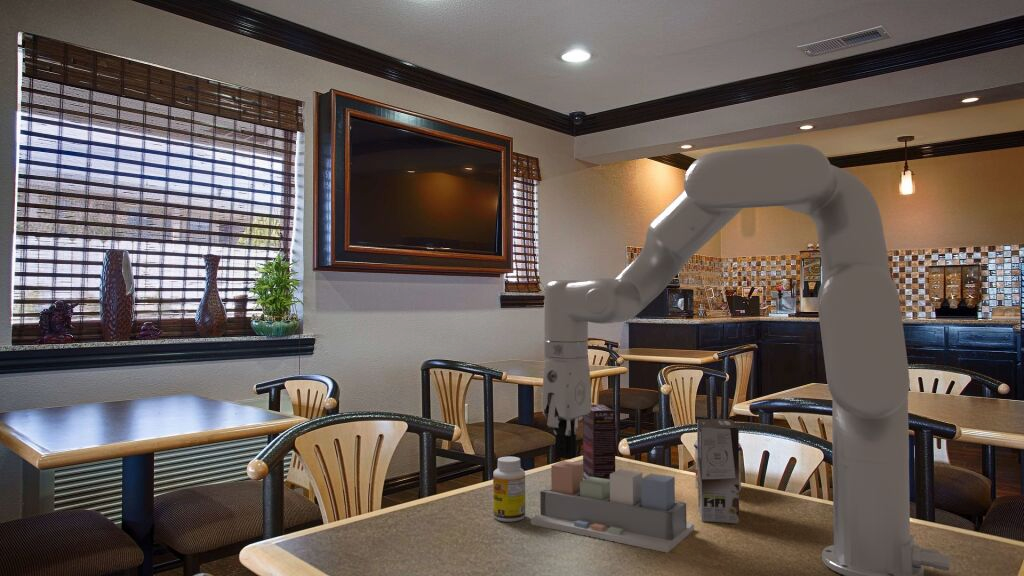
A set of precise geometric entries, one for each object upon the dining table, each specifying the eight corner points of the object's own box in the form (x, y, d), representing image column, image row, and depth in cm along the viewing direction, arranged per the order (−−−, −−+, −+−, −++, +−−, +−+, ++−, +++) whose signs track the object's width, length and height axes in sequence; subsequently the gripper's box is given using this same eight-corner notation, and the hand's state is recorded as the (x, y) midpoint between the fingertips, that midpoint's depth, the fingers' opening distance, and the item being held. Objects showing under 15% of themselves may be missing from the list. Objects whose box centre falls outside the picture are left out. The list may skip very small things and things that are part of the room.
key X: (642, 502, 112) (642, 472, 112) (632, 508, 109) (632, 477, 109) (620, 498, 114) (619, 468, 114) (610, 504, 111) (609, 474, 111)
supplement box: (617, 490, 134) (616, 410, 135) (593, 491, 134) (592, 411, 134) (604, 479, 143) (603, 403, 143) (582, 480, 142) (581, 404, 143)
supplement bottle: (489, 514, 120) (489, 456, 120) (519, 511, 121) (519, 454, 122) (498, 524, 114) (498, 463, 115) (529, 521, 116) (529, 461, 116)
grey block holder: (694, 529, 111) (693, 499, 111) (667, 552, 101) (667, 519, 101) (565, 506, 124) (565, 478, 125) (530, 524, 114) (530, 494, 114)
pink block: (583, 492, 118) (582, 463, 118) (572, 498, 115) (571, 468, 115) (562, 489, 120) (562, 460, 120) (551, 494, 117) (551, 465, 117)
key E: (612, 509, 115) (611, 479, 115) (601, 515, 112) (601, 485, 112) (590, 505, 117) (590, 476, 117) (580, 511, 114) (579, 481, 114)
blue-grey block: (674, 508, 109) (674, 476, 109) (665, 514, 106) (665, 482, 106) (651, 504, 111) (650, 473, 111) (641, 510, 108) (641, 478, 108)
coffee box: (740, 524, 114) (739, 427, 114) (701, 522, 115) (700, 426, 116) (734, 508, 123) (733, 418, 123) (697, 506, 124) (696, 417, 124)
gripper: (564, 355, 110) (563, 469, 109) (604, 349, 122) (604, 452, 122) (524, 353, 114) (524, 463, 113) (567, 347, 126) (567, 446, 126)
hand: (565, 457), depth 118 cm, fingers closed
